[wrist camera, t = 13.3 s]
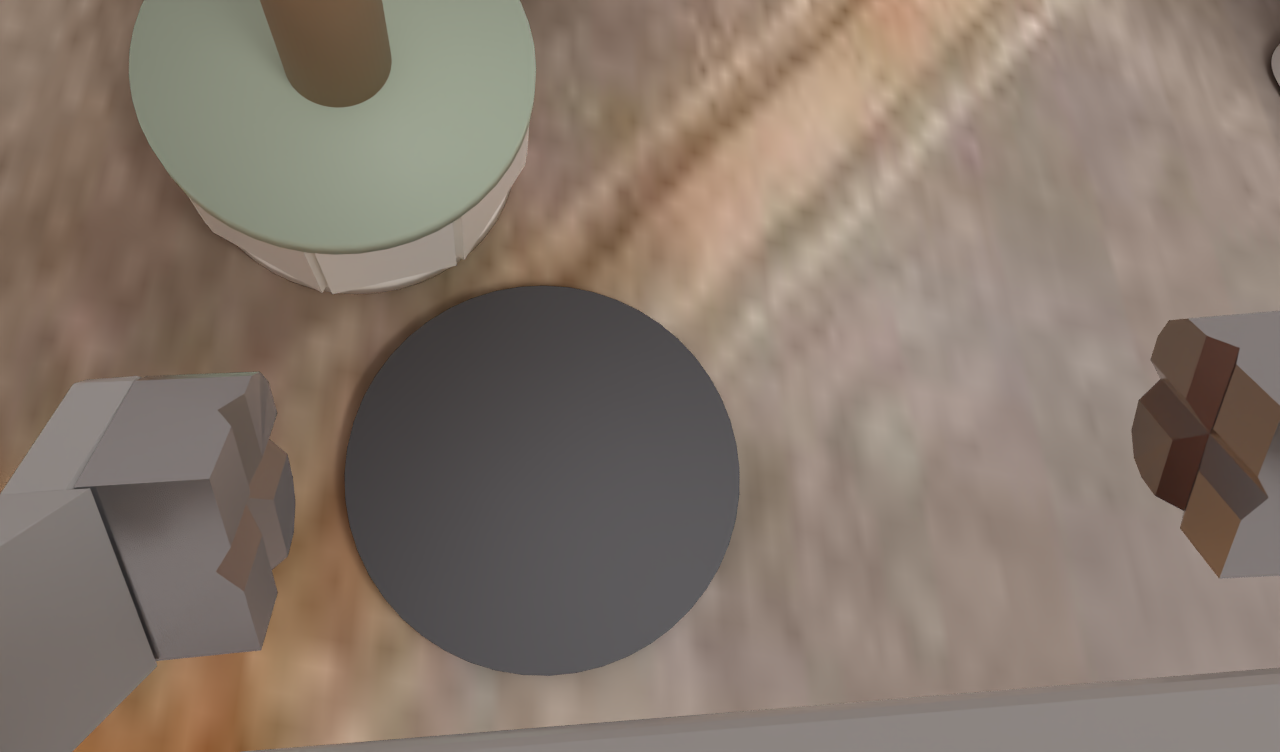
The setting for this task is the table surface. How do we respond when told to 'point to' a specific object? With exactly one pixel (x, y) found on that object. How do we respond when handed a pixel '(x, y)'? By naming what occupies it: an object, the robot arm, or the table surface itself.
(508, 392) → the mat
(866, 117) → the table surface
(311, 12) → the peg stand
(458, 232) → the bowl
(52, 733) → the robot arm
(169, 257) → the table surface
